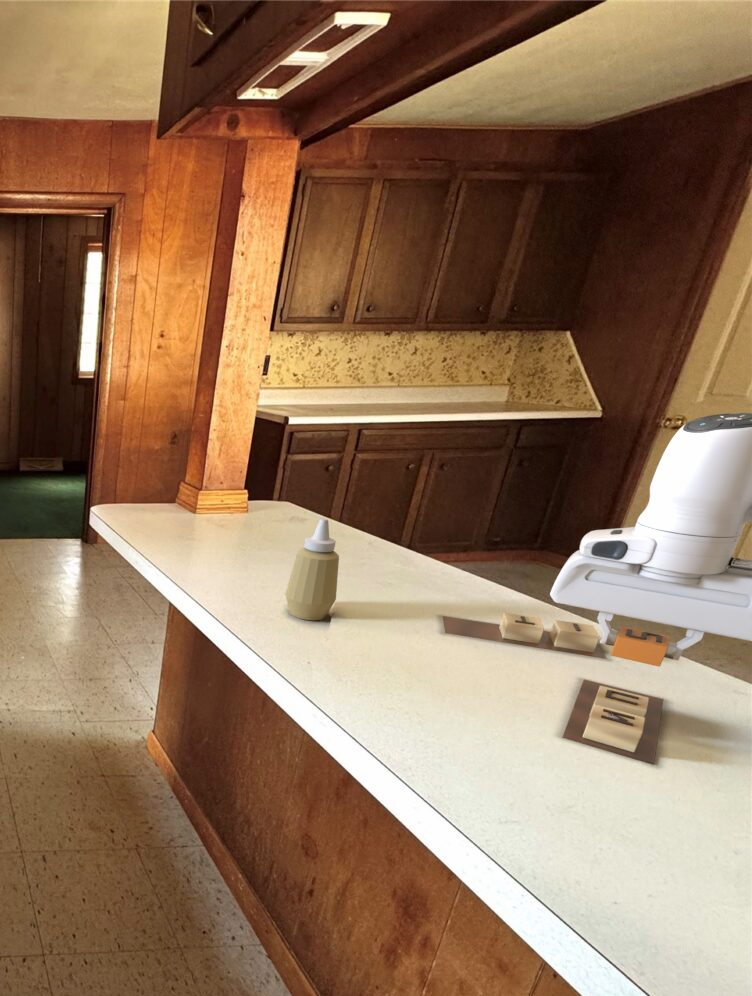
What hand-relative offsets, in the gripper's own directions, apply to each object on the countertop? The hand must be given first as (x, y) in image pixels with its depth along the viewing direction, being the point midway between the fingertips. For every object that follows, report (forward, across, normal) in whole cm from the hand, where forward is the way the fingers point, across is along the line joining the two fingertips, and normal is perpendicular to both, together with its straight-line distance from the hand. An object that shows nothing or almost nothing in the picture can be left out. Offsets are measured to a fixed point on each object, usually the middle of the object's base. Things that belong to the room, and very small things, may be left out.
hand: (637, 650), depth 87 cm
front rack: (+8, 0, +6) cm, 10 cm away
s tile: (+1, 0, 0) cm, 1 cm away
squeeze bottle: (+8, +41, -4) cm, 42 cm away
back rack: (+8, +13, -15) cm, 21 cm away
